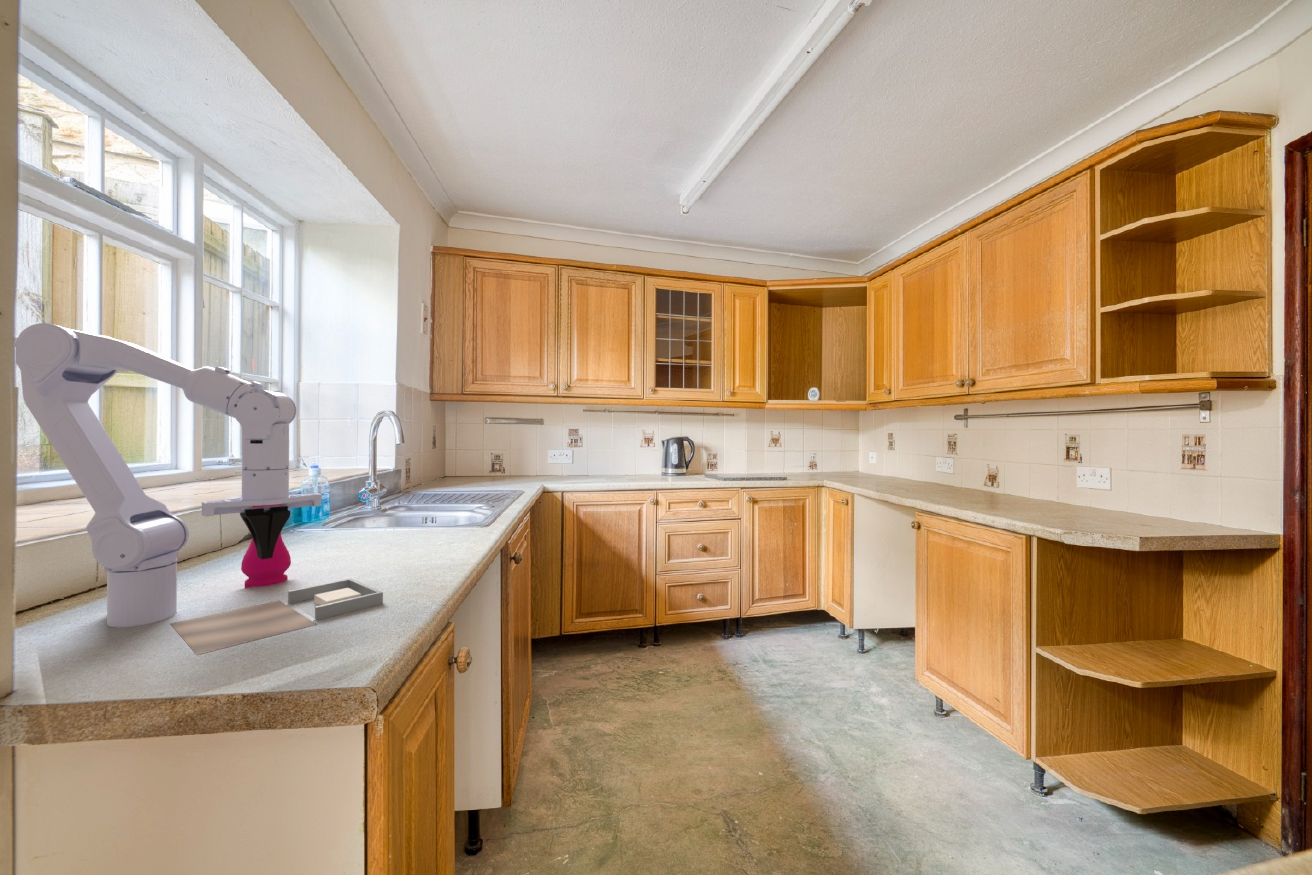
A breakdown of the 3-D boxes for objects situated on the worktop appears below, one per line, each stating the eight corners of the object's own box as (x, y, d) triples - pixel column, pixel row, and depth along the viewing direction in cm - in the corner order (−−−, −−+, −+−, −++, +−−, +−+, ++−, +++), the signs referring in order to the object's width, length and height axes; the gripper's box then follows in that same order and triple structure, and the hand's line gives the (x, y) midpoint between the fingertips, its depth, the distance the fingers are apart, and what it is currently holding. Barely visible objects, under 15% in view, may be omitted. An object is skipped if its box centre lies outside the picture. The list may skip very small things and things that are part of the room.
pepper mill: (250, 596, 88) (251, 481, 88) (234, 589, 92) (235, 478, 91) (297, 586, 94) (298, 478, 94) (280, 579, 98) (281, 476, 98)
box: (283, 610, 81) (283, 591, 81) (351, 595, 89) (351, 578, 89) (311, 629, 74) (312, 608, 74) (382, 610, 82) (382, 592, 82)
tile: (314, 607, 82) (314, 594, 82) (347, 599, 86) (348, 587, 86) (326, 614, 79) (326, 601, 79) (360, 605, 83) (360, 593, 83)
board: (170, 631, 72) (170, 623, 72) (279, 607, 83) (279, 600, 83) (196, 664, 63) (197, 654, 63) (317, 632, 73) (317, 624, 73)
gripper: (210, 473, 69) (210, 572, 70) (329, 468, 81) (328, 553, 81) (198, 470, 74) (197, 563, 74) (312, 465, 85) (311, 546, 85)
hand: (265, 557), depth 78 cm, fingers closed
